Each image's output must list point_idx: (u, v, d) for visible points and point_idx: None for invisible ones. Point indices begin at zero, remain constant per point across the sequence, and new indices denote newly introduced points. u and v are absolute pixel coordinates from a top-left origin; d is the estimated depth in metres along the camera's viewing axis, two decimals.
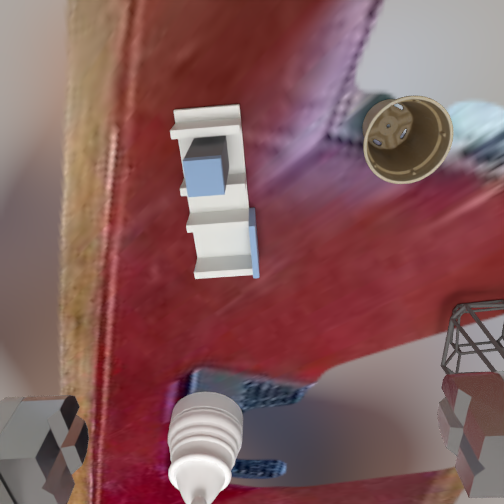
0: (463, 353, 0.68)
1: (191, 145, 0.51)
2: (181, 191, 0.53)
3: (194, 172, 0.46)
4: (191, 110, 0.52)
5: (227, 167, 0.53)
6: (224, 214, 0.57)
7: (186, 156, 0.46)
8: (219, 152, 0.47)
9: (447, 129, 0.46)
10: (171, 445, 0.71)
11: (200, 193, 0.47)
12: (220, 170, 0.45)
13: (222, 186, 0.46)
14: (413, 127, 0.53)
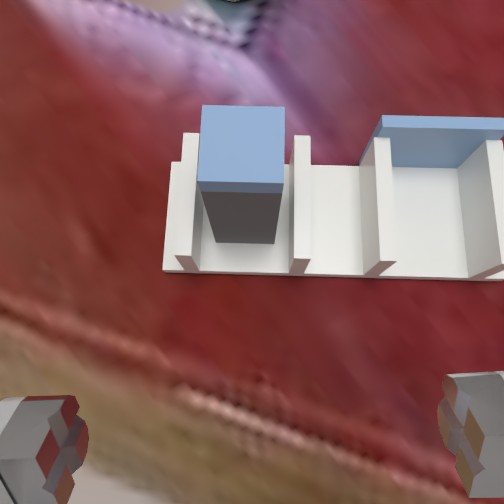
0: None
1: None
2: (300, 255, 0.25)
3: (226, 160, 0.20)
4: (167, 238, 0.30)
5: None
6: (365, 201, 0.29)
7: None
8: None
9: None
10: None
11: (277, 155, 0.20)
12: (228, 108, 0.21)
13: (265, 109, 0.21)
14: None
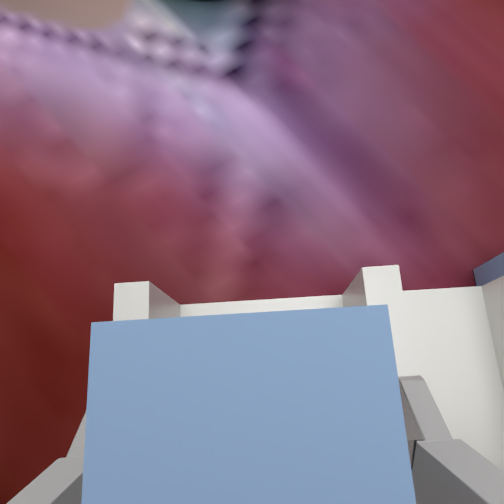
0: None
1: None
2: None
3: None
4: None
5: None
6: None
7: None
8: None
9: None
10: None
11: None
12: (185, 327, 0.06)
13: (318, 319, 0.06)
14: None
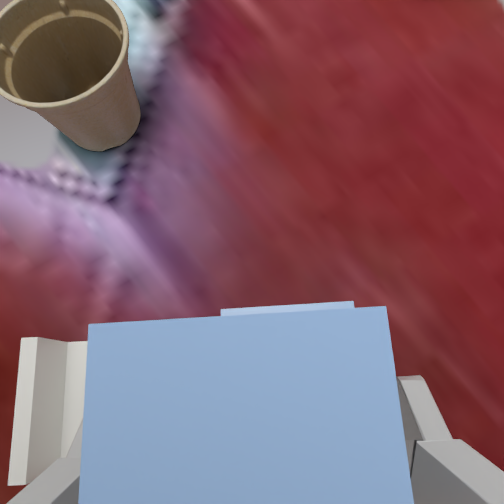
0: None
1: None
2: None
3: None
4: None
5: None
6: None
7: None
8: None
9: None
10: None
11: None
12: (182, 329, 0.06)
13: (316, 321, 0.06)
14: None
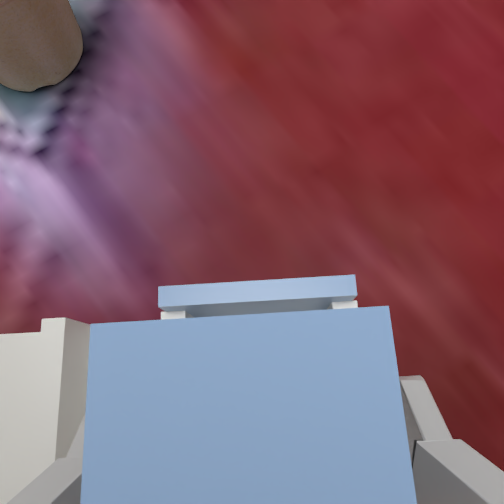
0: None
1: None
2: None
3: None
4: None
5: None
6: None
7: None
8: None
9: None
10: None
11: None
12: (184, 328, 0.06)
13: (319, 320, 0.06)
14: None
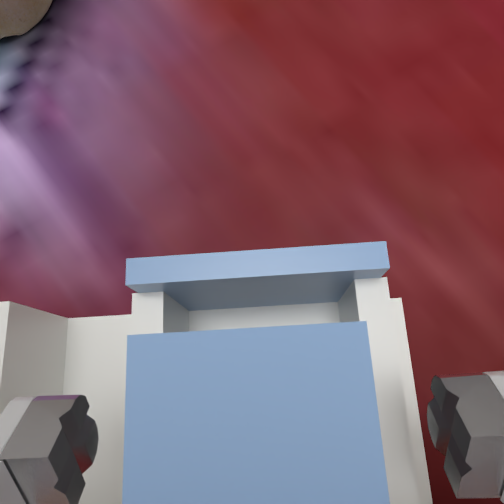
0: None
1: None
2: None
3: None
4: None
5: None
6: None
7: None
8: None
9: None
10: None
11: (366, 498, 0.06)
12: (203, 339, 0.07)
13: (310, 332, 0.07)
14: None
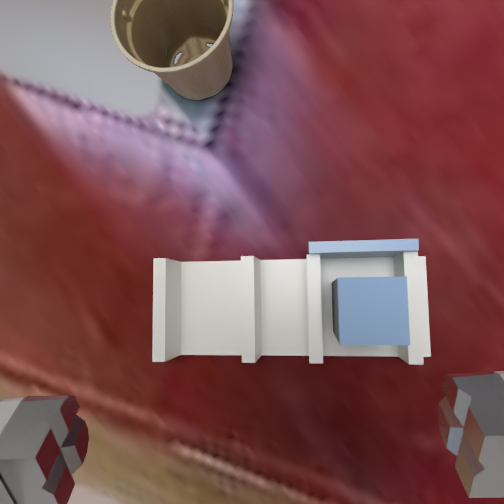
0: None
1: None
2: (247, 360, 0.32)
3: (361, 326, 0.26)
4: None
5: None
6: None
7: (338, 338, 0.27)
8: None
9: None
10: None
11: (403, 320, 0.25)
12: (359, 279, 0.26)
13: (390, 279, 0.26)
14: (201, 33, 0.40)
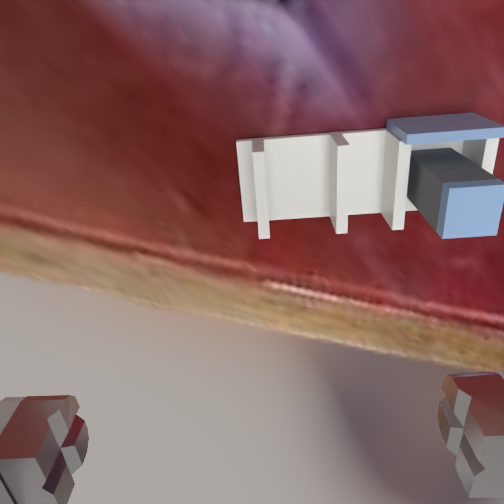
0: None
1: (414, 204, 0.38)
2: (340, 232, 0.39)
3: (461, 224, 0.32)
4: (243, 201, 0.42)
5: (454, 156, 0.37)
6: (387, 170, 0.39)
7: (434, 226, 0.34)
8: (436, 181, 0.33)
9: None
10: None
11: (495, 218, 0.32)
12: (467, 189, 0.31)
13: (493, 187, 0.31)
14: None
